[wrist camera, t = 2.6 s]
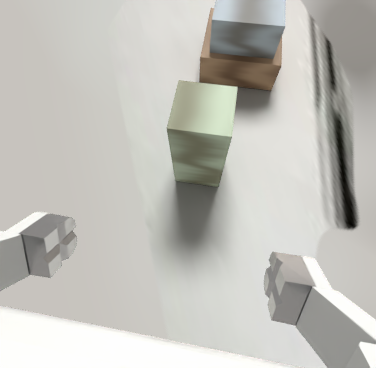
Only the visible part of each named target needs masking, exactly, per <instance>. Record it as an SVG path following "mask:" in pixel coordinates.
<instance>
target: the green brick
mask: <svg viewBox="0 0 376 368" xmlns="http://www.w3.org/2000/svg"><path fill="white" fill-rule="evenodd" d="M237 88H238V87H233V86H224V85H216V84H207V83H198V82H189V81H181V80H179V81H178V85H177V89H176V93H175V97H174V101H173V105H172V109H171V113H170V117H169V121H168V125H167V133H168V139H169V145H170V151H171V157H172V163H173V169H174V175H175V181H181V182H187V183H194V184H200V185H207V186H214V187H218V186H219V182H220V179H221V175H222V171H223V168H224V164H225V160H226V157H227V153H228V149H229V146H230V142H231V138H232V132H233V123H234V114H235V106H236V97H237Z"/></svg>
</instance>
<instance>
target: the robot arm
mask: <svg viewBox="0 0 376 368" xmlns="http://www.w3.org/2000/svg"><path fill="white" fill-rule="evenodd" d="M75 227H76V226H75V220H74V219H73V218H71V217H65V216H60V215H55V214H49V213H44V212H35V213H33V214H31V215H30V216H28V217H27V218H25V219H24V220H22V221H21V222H19V223H17V224H16V225H14V226H13V227H11V228H10V229H8V230H7V231H5V232H3V231H0V291H1V290H3V289H5V288H7V287H9V286H11V285H12V284H14V283H16V282H18V281H20V280H22V279H24V278H25V277H28V276H29V275H36V276H42V277H48V278H51V277H52V276H53V275H54V274H55V273H56V271H57V270H58V269H59V268H60V267H61V266H62V261H63V260H66V259H68V258H69V257H70V256H71V255H72V254H73V252H74V250H75V248H76V244H77V236H76V235H75V233H74V232H73V230H74V228H75ZM269 262H270V265H271V266H270V267H269V268H267V269H266V272H265V276H264V290H265V294H266V295H267V296H268V297H269V301H268V308H269V312H270V317H271V320H273V321H277V322H282V323H286V324H291V325H295V326H296V328H297V329H298V330H299V332H300V333H301V334H302V335H303V337H304V338H305V339H306V341H307V342H308V343H309V344H310V346H311V347H312V348H313V349H314V351H315V352H316V353H317V355H318V356H319V357H320V358H321V360H322V361H323V362H324V363H325V365H326V366H327V367H328V368H376V320H375V319H374V318H372V317H371V316H370V315H369V314H367V313H366V312H365V311H363V310H362V309H361V308H359V307H358V306H357V305H355V304H354V303H353V302H351V301H350V300H349V299H347V298H346V297H345V296H344V295H342V294H341V293H340V292H338V291H335V290H333V289H332V287H331V286H330V284H329V282H328V280H327V279H326V277H325V275H324V273H323V272H322V270H321V268H320V267H319V265H318V263H317V261H316V260H315V259H314V258H313V257H306V256H297V255H290V254H284V253H278V252H272V254H271V255H270V259H269ZM0 368H303V367H298V366H294V365H289V364H284V363H279V362H274V361H269V360H264V359H259V358H254V357H250V356H245V355H240V354H235V353H230V352H225V351H220V350H216V349H211V348H206V347H201V346H196V345H191V344H187V343H182V342H177V341H172V340H167V339H162V338H157V337H153V336H147V335H143V334H137V333H133V332H128V331H123V330H118V329H114V328H109V327H103V326H99V325H93V324H89V323H84V322H79V321H74V320H69V319H65V318H60V317H55V316H50V315H45V314H40V313H35V312H31V311H26V310H21V309H16V308H11V307H6V306H1V305H0Z"/></svg>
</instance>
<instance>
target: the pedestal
mask: <svg viewBox="0 0 376 368" xmlns="http://www.w3.org/2000/svg"><path fill="white" fill-rule="evenodd" d="M285 4H286V0H216V2H215V7H214V8H211V10H210V14H209V19H208V24H207V29H206V33H205V38H204V43H203V48H202V52H201V57H200V82H201V83H210V84H218V85H227V86H236V87H245V88H253V89H262V90H272V87H273V85H274V82H275V80H276V77H277V75H278V73H279V70H280V68H281V60H282V34H283V31H284V28H285Z"/></svg>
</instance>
